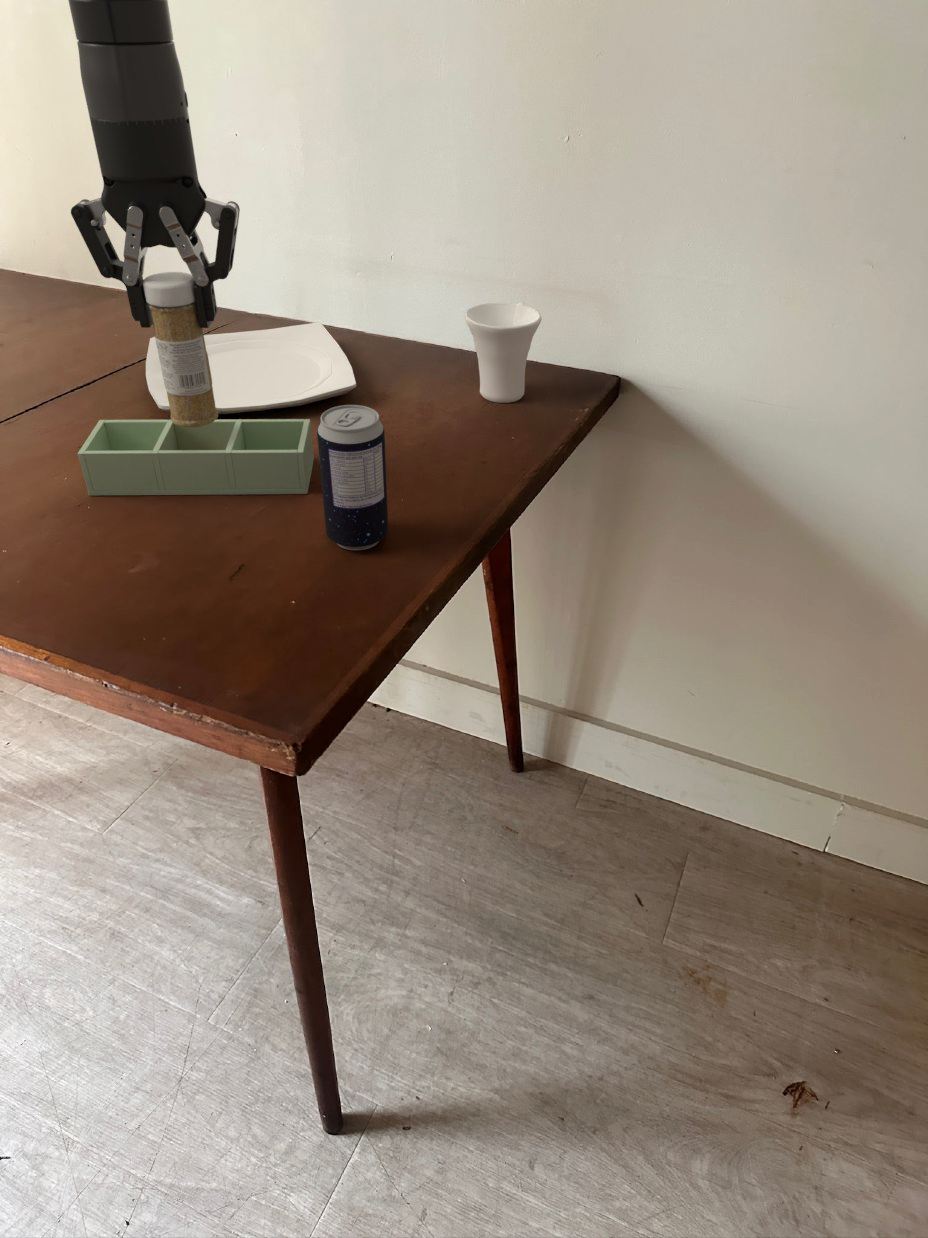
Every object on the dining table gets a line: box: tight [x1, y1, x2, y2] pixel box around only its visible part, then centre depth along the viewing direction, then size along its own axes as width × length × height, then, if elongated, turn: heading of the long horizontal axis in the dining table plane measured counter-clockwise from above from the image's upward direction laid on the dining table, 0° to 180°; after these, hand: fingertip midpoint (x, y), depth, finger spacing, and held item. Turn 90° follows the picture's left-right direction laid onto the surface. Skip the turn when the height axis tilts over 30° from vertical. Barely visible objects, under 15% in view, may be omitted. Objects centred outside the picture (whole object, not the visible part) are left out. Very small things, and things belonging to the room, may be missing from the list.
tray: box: [77, 418, 315, 497], centre depth 87 cm, size 21×8×5 cm, turn 93°
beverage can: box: [316, 404, 389, 551], centre depth 76 cm, size 6×6×12 cm
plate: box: [145, 322, 357, 415], centre depth 107 cm, size 24×24×3 cm
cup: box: [464, 301, 542, 404], centre depth 104 cm, size 9×9×10 cm
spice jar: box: [143, 271, 219, 428], centre depth 80 cm, size 5×5×14 cm
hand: (177, 324), depth 79 cm, fingers closed on spice jar, 4 cm apart
